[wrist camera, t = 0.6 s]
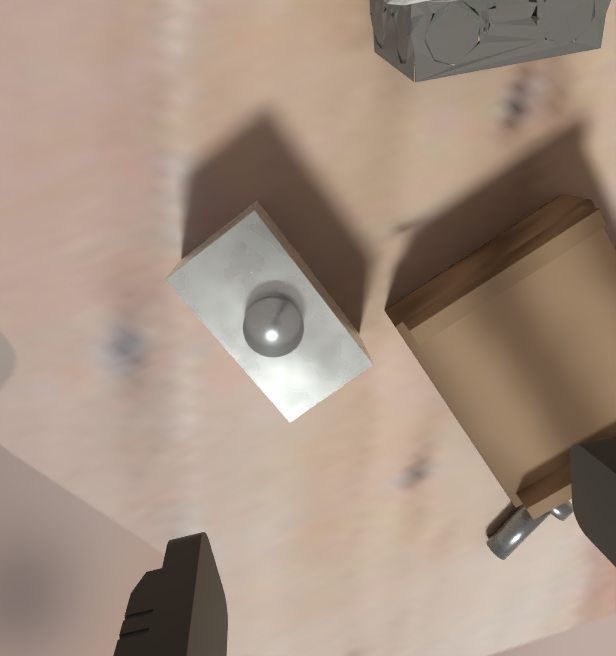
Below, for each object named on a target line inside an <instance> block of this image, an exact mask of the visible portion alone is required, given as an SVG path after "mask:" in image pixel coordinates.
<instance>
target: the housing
mask: <svg viewBox="0 0 616 656" xmlns="http://www.w3.org/2000/svg"><path fill="white" fill-rule="evenodd" d="M166 281H167V282H168V283H169V285H170V286H171V287H172V288H173V289H174V290H175V291H176V293H177V294H178V295H179V296H180V297H181V298H182V299H183V301H184V302H185V303H186V304H187V305H188V306H189V307H190V309H191V310H192V311H193V312H194V313H195V314H196V315H197V317H198V318H199V319H200V320H201V321H202V322H203V323H204V325H205V326H206V327H207V328H208V329H209V330H210V331H211V333H212V334H213V335H214V336H215V337H216V338H217V339H218V341H219V342H220V343H221V344H222V345H223V346H224V348H225V349H226V350H227V351H228V352H229V353H230V354H231V356H232V357H233V358H234V359H235V360H236V361H237V362H238V364H239V365H240V366H241V367H242V368H243V369H244V370H245V372H246V373H247V374H248V375H249V376H250V377H251V378H252V380H253V381H254V382H255V383H256V384H257V385H258V386H259V388H260V389H261V390H262V391H263V392H264V393H265V394H266V396H267V397H268V398H269V399H270V400H271V401H272V402H273V404H274V405H275V406H276V407H277V408H278V409H279V410H280V412H281V413H282V414H283V415H284V416H285V417H286V418H287V420H288V421H289V422H291V421H293V420H294V419H296V418H297V417H299V416H300V415H301V414H303V413H304V412H306V411H307V410H309V409H310V408H312V407H313V406H314V405H316V404H317V403H319V402H320V401H322V400H323V399H325V398H326V397H327V396H329V395H330V394H332V393H333V392H335V391H336V390H338V389H339V388H340V387H342V386H343V385H345V384H346V383H348V382H349V381H351V380H352V379H353V378H355V377H356V376H358V375H359V374H361V373H362V372H363V371H365V370H366V369H368V368H369V367H371V366H372V365H373V363H372V361H371V359H370V356H369V354H368V352H367V350H366V348H365V345H364V343H363V341H362V339H361V337H360V334H359V333H358V331H357V330H356V329H355V327H354V326H353V325H352V324H351V322H350V321H349V320H348V318H347V317H346V316H345V314H344V313H343V312H342V310H341V309H340V308H339V306H338V305H337V304H336V303H335V301H334V300H333V299H332V297H331V296H330V295H329V293H328V292H327V291H326V289H325V288H324V287H323V285H322V284H321V283H320V282H319V280H318V279H317V278H316V276H315V275H314V274H313V272H312V271H311V270H310V268H309V267H308V266H307V265H306V263H305V262H304V261H303V259H302V258H301V257H300V255H299V254H298V253H297V251H296V250H295V249H294V247H293V246H292V245H291V244H290V242H289V241H288V240H287V238H286V237H285V236H284V234H283V233H282V232H281V230H280V229H279V228H278V226H277V225H276V224H275V223H274V221H273V220H272V219H271V217H270V216H269V215H268V213H267V212H266V211H265V209H264V208H263V207H262V205H261V204H260V203H259V202H258V200H257V201H255V202H254V203H253V204H251V205H250V206H249V207H248V208H246V209H245V210H244V211H242V212H241V213H240V214H239V215H237V216H236V217H235V218H233V219H232V220H231V221H230V222H228V223H227V224H226V225H225V226H223V227H222V228H221V229H219V230H218V231H217V232H216V233H214V234H213V235H212V236H210V237H209V238H208V239H207V240H205V241H204V242H203V243H201V244H200V245H199V246H198V247H196V248H195V249H194V250H192V251H191V252H190V253H189V254H187V255H186V256H185V257H184V258H182V259H181V260H180V262H179V263H178V264H177V265H176V267H175V268H174V269H173V271H172V272H171V273H170V274H169V276H168V277H167V278H166Z"/></svg>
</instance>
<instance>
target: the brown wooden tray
mask: <svg viewBox="0 0 616 656" xmlns="http://www.w3.org/2000/svg"><path fill="white" fill-rule="evenodd" d="M606 226H607V224H606V222H605V220H604V218H603V216H602V214H601V211H600V209H597V208H595V207H594V204H593V202H592V200H589V199H584V198H578V197H573V196H568V195H560V196H559V197H557V198H556V199H554V200H552V201H551V202H549V203H548V204H546V205H545V206H543V207H542V208H540V209H539V210H537V211H536V212H534V213H533V214H531V215H530V216H528V217H527V218H525V219H523V220H522V221H520V222H519V223H517V224H516V225H514V226H513V227H511V228H510V229H508V230H507V231H505V232H504V233H502V234H501V235H499V236H497V237H496V238H494V239H493V240H491V241H490V242H488V243H487V244H485V245H484V246H482V247H481V248H479V249H478V250H476V251H475V252H473V253H471V254H470V255H468V256H467V257H465V258H464V259H462V260H461V261H459V262H458V263H456V264H455V265H453V266H452V267H450V268H449V269H447V270H446V271H444V272H442V273H441V274H439V275H438V276H436V277H435V278H433V279H432V280H430V281H429V282H427V283H426V284H424V285H423V286H421V287H420V288H418V289H416V290H415V291H413V292H412V293H410V294H409V295H407V296H406V297H404V298H403V299H401V300H400V301H398V302H397V303H395V304H394V305H392V306H390V307H389V308H387V309H386V310H385V312H386V313H387V315H388V316H389V318H390V319H391V321H392V322H393V324H394V326H395V327H396V329H397V330H398V332H399V333H400V335H401V336H402V338H403V339H404V341H405V342H406V344H407V345H408V347H409V348H410V350H411V351H412V353H413V354H414V356H415V357H416V359H417V360H418V362H419V363H420V365H421V366H422V368H423V369H424V371H425V372H426V374H427V375H428V377H429V378H430V380H431V381H432V383H433V384H434V386H435V387H436V389H437V390H438V392H439V393H440V395H441V396H442V398H443V399H444V401H445V402H446V404H447V405H448V407H449V408H450V410H451V411H452V413H453V414H454V416H455V417H456V419H457V420H458V422H459V423H460V425H461V426H462V428H463V429H464V431H465V432H466V434H467V435H468V437H469V438H470V440H471V441H472V443H473V444H474V446H475V447H476V449H477V450H478V452H479V453H480V455H481V456H482V458H483V459H484V461H485V462H486V464H487V465H488V467H489V468H490V470H491V471H492V473H493V474H494V476H495V477H496V479H497V480H498V482H499V483H500V485H501V486H502V488H503V489H504V491H505V492H506V494H507V495H508V497H509V498H510V500H511V501H512V503H513V504H514V506H515V507H516V508H517V507H519V506H520V505H522V504H523V505H524V507H525V508H526V509H527V511H528V512H529V514H530V515H531V517H532V518H533V520H534V519H536V518H538V517H540V516H542V515H543V514H545V513H547V512H549V511H550V510H552V509H554V508H556V507H557V506H559V505H561V504H563V503H565V502H566V501H568V500H570V499H572V489H571V472H570V449H571V447H572V446H573V445H575V444H579V443H583V442H587V441H591V440H596V439H600V438H604V437H610V438H612V439H614V440H615V441H616V251H615V249H614V247H613V245H612V242H611V240H610V238H609V236H608V234H607V232H606V230H605V228H604V227H606Z"/></svg>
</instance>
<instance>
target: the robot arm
mask: <svg viewBox="0 0 616 656" xmlns="http://www.w3.org/2000/svg"><path fill="white" fill-rule="evenodd" d="M570 472H571V489H572V505H573V511H574V514H575V517H576V520H577V522H578V524H579V526H580V528H581V529H582V531H583V532H584V534H585V535H586V536H587V537H588V538H589V539H590V541H591V542H592V543H593V544H594V545H595V546H596V547H597V548H598V549H599V550H600V551H601V552H602V553H603V554H604V555H605V556H606V557H607V558H608V559H609V560H610V561H611V563H612V564H613V565H614V566H615V567H616V441H615V440H614V439H612V438H610V437H604V438H600V439H596V440H591V441H587V442H583V443H579V444H575V445H573V446H572V447H571V449H570ZM227 631H228V615H227V605H226V599H225V594H224V590H223V587H222V583H221V580H220V576H219V573H218V570H217V566H216V563H215V559H214V556H213V553H212V549H211V546H210V543H209V539H208V537H207V535H206V533H205V532H202V533H198V534H194V535H189V536H185V537H181V538H177V539H173V540H169V542H168V544H167V548H166V553H165V557H164V562H163V567H162V568H161V569H157V570H153V571H149V572H146V574H145V575H144V576H143V577H142V579H141V580H140V582H139V583H138V584H137V586H136V587H135V589H134V590H133V591H132V593H131V595H130V598H129V602H128V606H127V609H126V613H125V620H124V621H123V624H122V627H121V631H120V634H119V636H120V640H118V642H117V645H116V649H115V652H114V656H226V655H227Z"/></svg>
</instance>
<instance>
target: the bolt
mask: <svg viewBox="0 0 616 656" xmlns="http://www.w3.org/2000/svg"><path fill="white" fill-rule="evenodd" d="M572 512H573V505H572V504H571V503H570V502H569V501H566V502H565V503H563V504H561V505H559V506H557V507H556V508H554V509H552V510H550V511H549V512H547V513H545V514H543V515H542V516H540V517H538V518H536V519H534V520H533V518H532V517H531V515H530V514H529V512H528V511H527V509H526V508H525V507H524V505H523V504H522V505H521V506H520V507H519V508H518V509H517V511H516V512H515V513H514V514H513V515H512V516H511V517H510V518H509V519H508V520H507V521H506V522H505V523H504V524H503V525H502V526H501V527H500V528H499V529H498V530H497V531H496V532H495V533H494V534H493V535H492V536H491V537H490V538H489V539H488V540H487V545H488V547H489V548H490V550H491V551H492V552H493V553H494V554H495V555H496V556H497V557H499V558H500V559H502V560H505V559H506V558H507V557H508V556H509V555H510V554H511V553H512V552H513V551H514V550H515V549H516V548H517V547H518V546H519V545H520V544H521V543H522V542H523V541H524V540H525V539H526V538H527V537H528V536H529V535H530V534H531V533H532V532H533V531H534V530H535V529H536V528H537V527H538V526H539V525H540V524H541V523H542V522H543V521H544V520H545V518H546V517H547V516H548V515H549V514H550V513H551V514H552V515H554V516H555V517H556V518H558V519H560V520H562V521H564V520H565V519H566V518H567V517H568V516H569V515H570V514H571V513H572Z"/></svg>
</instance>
